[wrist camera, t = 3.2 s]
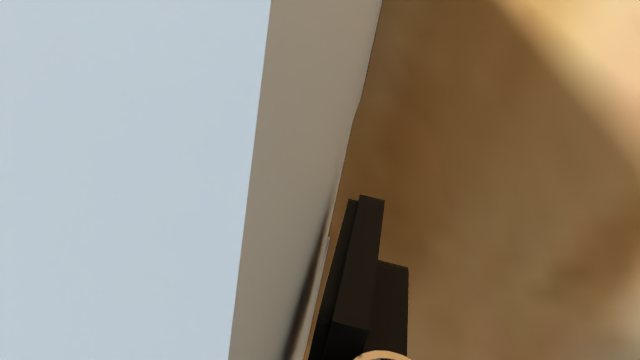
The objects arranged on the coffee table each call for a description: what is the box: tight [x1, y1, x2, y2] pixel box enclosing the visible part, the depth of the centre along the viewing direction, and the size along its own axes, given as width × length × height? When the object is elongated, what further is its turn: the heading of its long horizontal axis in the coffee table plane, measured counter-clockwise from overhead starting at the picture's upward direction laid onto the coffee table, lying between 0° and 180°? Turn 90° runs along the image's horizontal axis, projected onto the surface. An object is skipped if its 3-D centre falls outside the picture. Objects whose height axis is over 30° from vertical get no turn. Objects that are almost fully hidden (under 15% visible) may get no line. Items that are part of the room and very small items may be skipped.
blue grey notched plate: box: [0, 0, 382, 360], centre depth 9 cm, size 3×14×11 cm, turn 170°
